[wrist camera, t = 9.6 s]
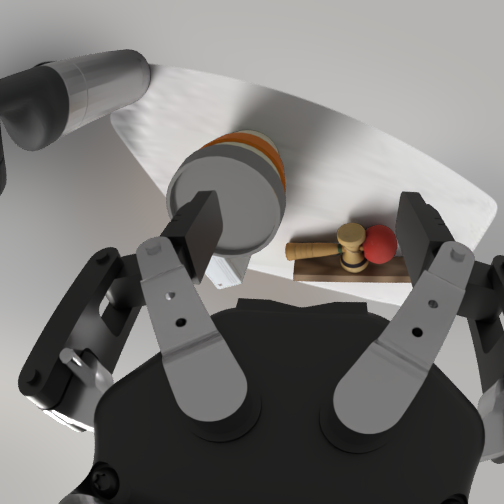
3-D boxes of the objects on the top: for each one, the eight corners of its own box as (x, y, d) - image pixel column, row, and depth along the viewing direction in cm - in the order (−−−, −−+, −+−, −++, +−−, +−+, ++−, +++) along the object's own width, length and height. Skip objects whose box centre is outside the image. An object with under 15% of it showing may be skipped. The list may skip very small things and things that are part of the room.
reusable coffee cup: (278, 206, 44) (264, 273, 33) (201, 184, 44) (161, 241, 33) (303, 132, 36) (300, 175, 25) (215, 108, 36) (169, 140, 25)
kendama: (297, 261, 52) (396, 256, 44) (288, 281, 47) (399, 277, 39) (288, 222, 49) (394, 213, 41) (277, 239, 44) (397, 230, 36)
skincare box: (259, 233, 48) (245, 284, 39) (237, 240, 50) (218, 291, 41) (242, 203, 45) (221, 251, 36) (218, 212, 47) (194, 260, 38)
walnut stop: (295, 260, 50) (293, 280, 47) (295, 254, 50) (293, 274, 46) (424, 263, 45) (431, 282, 42) (425, 257, 45) (433, 276, 41)
